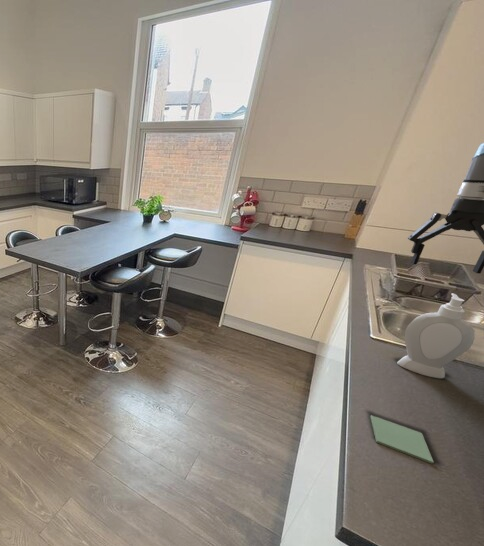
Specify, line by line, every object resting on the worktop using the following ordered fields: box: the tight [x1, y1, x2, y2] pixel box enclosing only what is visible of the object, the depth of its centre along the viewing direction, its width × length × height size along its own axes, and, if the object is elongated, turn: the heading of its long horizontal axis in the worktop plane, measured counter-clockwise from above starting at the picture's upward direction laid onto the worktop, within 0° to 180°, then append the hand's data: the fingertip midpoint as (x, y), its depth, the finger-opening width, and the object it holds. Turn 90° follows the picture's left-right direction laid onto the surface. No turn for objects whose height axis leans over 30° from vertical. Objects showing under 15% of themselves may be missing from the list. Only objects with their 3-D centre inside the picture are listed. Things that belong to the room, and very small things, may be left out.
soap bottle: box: [396, 292, 476, 379], centre depth 90 cm, size 13×8×24 cm, turn 50°
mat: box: [369, 415, 435, 465], centre depth 71 cm, size 9×9×1 cm
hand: (443, 267), depth 97 cm, fingers open, 13 cm apart
